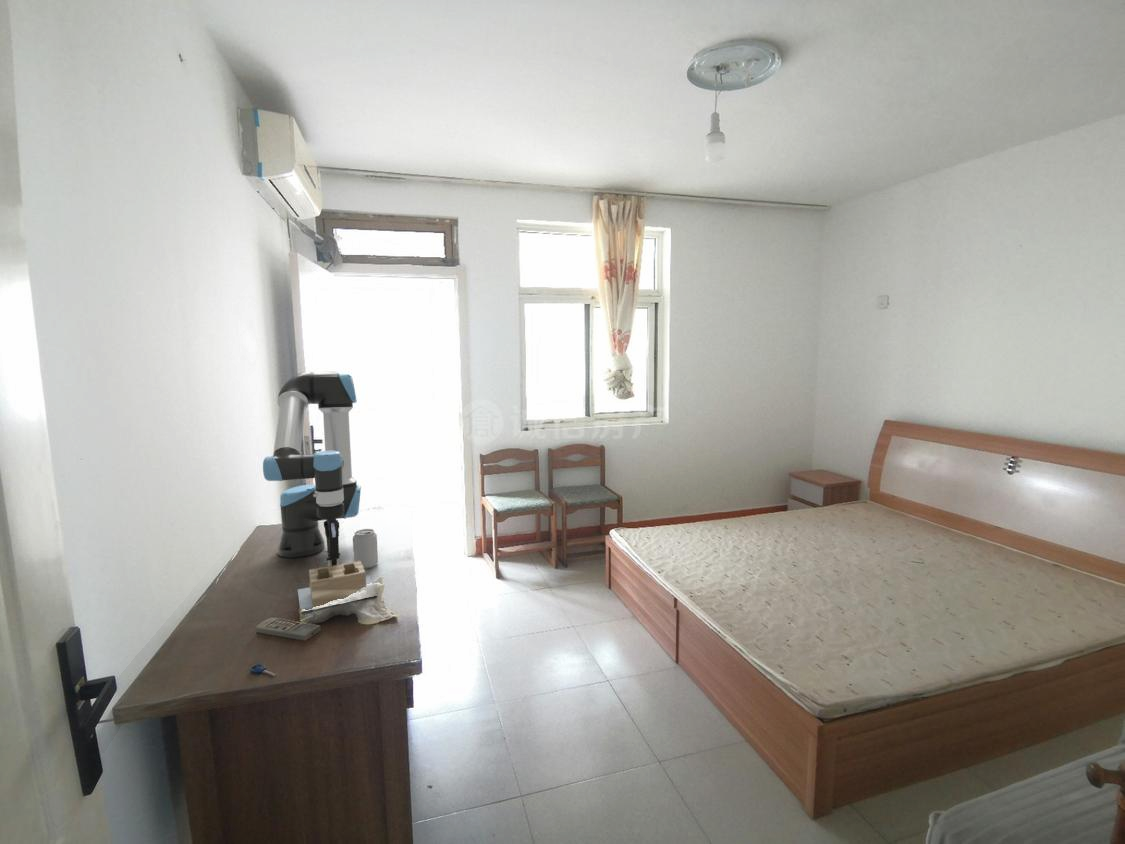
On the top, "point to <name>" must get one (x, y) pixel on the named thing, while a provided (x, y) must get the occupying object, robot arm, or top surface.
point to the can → (365, 547)
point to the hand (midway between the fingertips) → (334, 578)
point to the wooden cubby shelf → (336, 582)
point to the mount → (305, 596)
